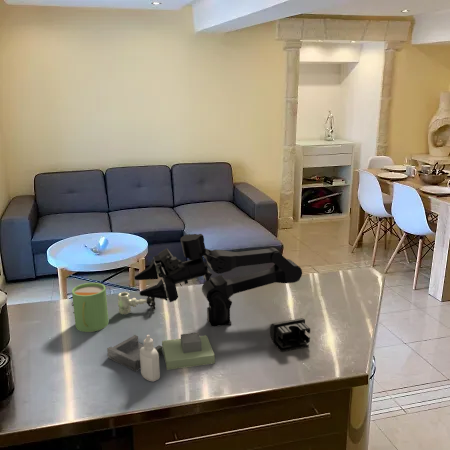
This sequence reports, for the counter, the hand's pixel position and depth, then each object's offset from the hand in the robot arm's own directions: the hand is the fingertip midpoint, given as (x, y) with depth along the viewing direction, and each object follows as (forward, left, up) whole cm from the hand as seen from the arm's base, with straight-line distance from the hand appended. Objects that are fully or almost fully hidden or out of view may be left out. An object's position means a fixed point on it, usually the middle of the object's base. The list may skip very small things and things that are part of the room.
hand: (137, 285), depth 144 cm
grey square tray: (+2, +12, -16) cm, 20 cm away
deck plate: (-12, +16, -16) cm, 25 cm away
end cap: (-42, +16, -16) cm, 48 cm away
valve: (0, -16, -16) cm, 23 cm away
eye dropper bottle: (-1, +23, -16) cm, 28 cm away
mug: (+15, -9, -16) cm, 24 cm away
